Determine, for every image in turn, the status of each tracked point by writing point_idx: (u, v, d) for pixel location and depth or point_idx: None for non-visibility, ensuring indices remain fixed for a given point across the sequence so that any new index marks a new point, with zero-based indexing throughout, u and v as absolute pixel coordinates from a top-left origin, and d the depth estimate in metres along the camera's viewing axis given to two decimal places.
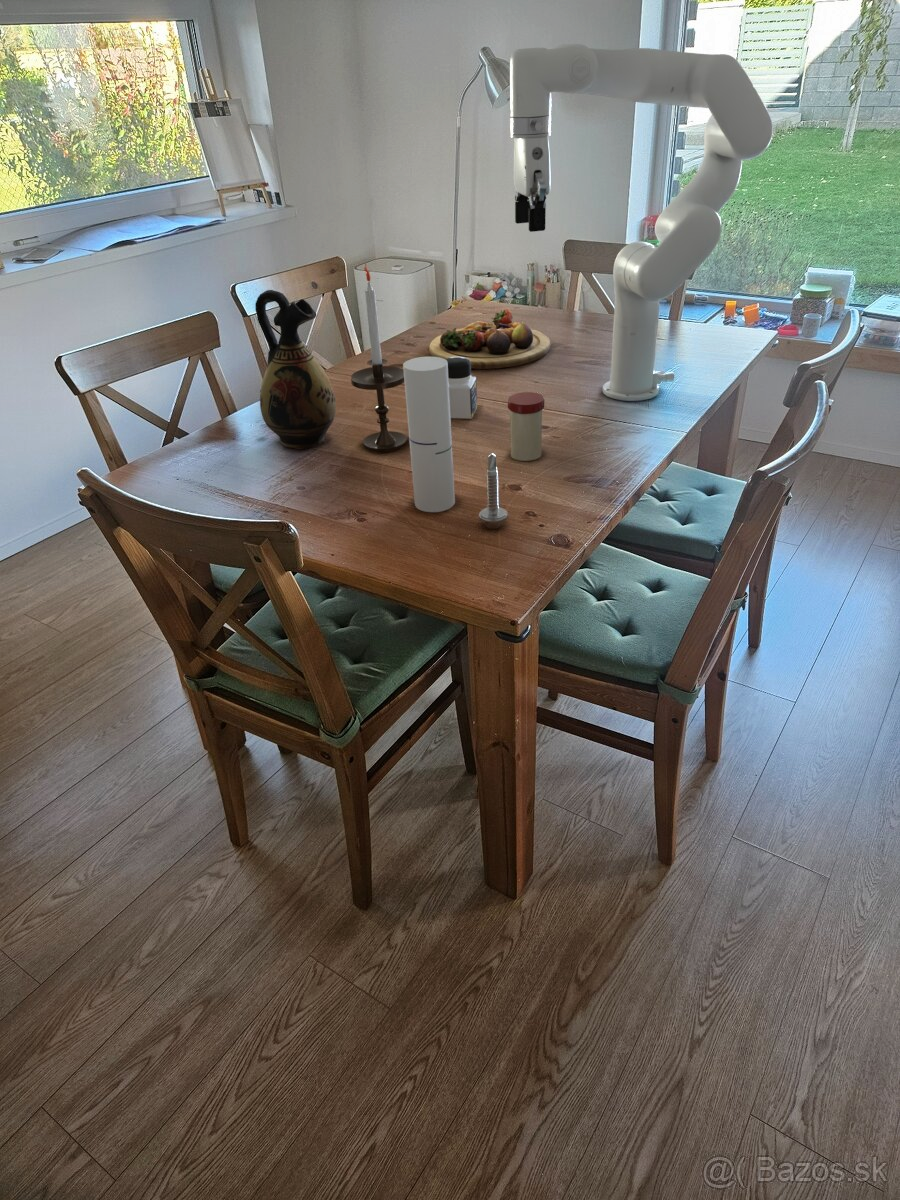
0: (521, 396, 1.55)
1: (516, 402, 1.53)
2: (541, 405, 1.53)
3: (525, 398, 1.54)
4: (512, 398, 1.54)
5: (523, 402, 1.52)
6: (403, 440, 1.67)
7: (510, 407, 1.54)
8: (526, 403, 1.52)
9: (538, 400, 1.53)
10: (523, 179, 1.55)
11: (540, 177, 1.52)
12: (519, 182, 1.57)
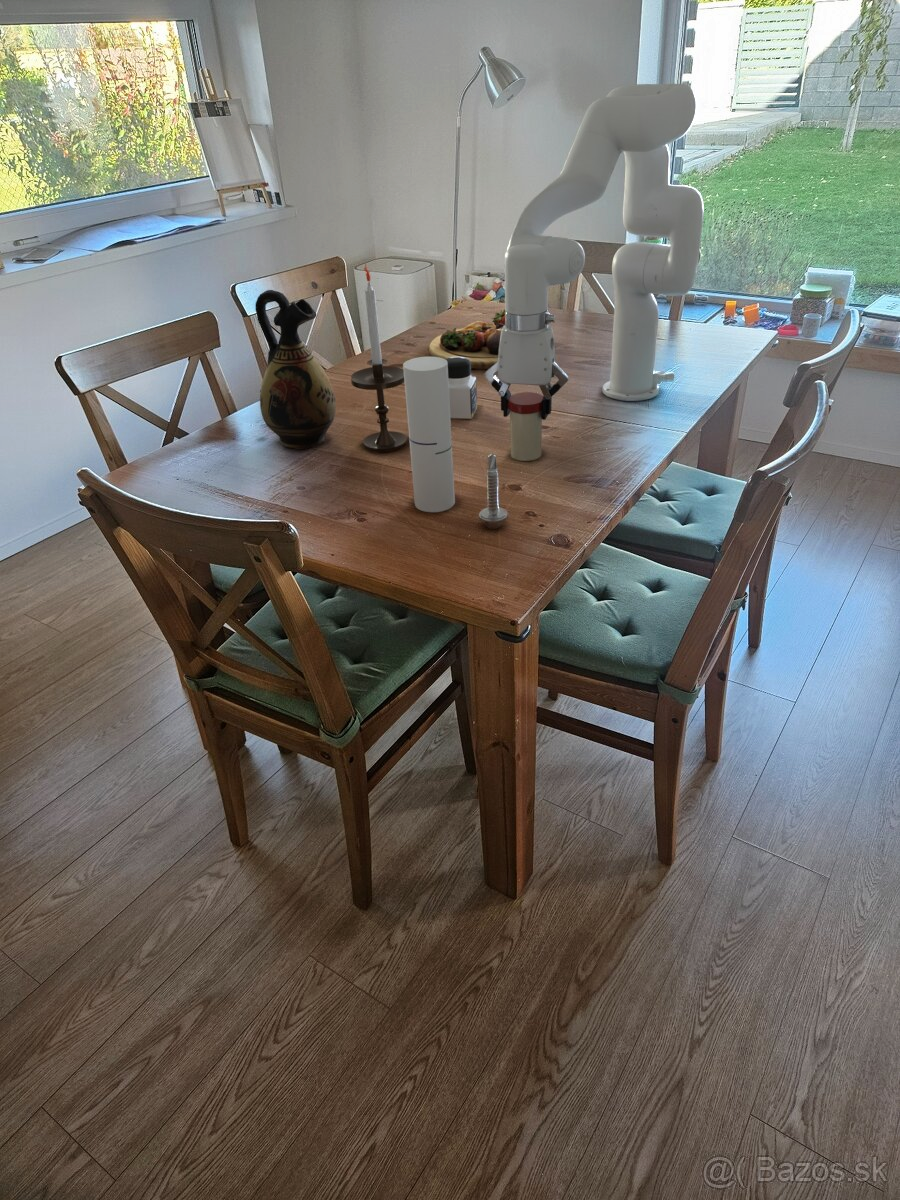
0: (521, 396, 1.55)
1: (516, 402, 1.53)
2: None
3: (525, 398, 1.54)
4: (512, 398, 1.54)
5: (523, 402, 1.52)
6: (403, 440, 1.67)
7: (510, 407, 1.54)
8: (526, 403, 1.52)
9: (538, 400, 1.53)
10: (539, 370, 1.48)
11: (559, 368, 1.49)
12: (526, 374, 1.49)
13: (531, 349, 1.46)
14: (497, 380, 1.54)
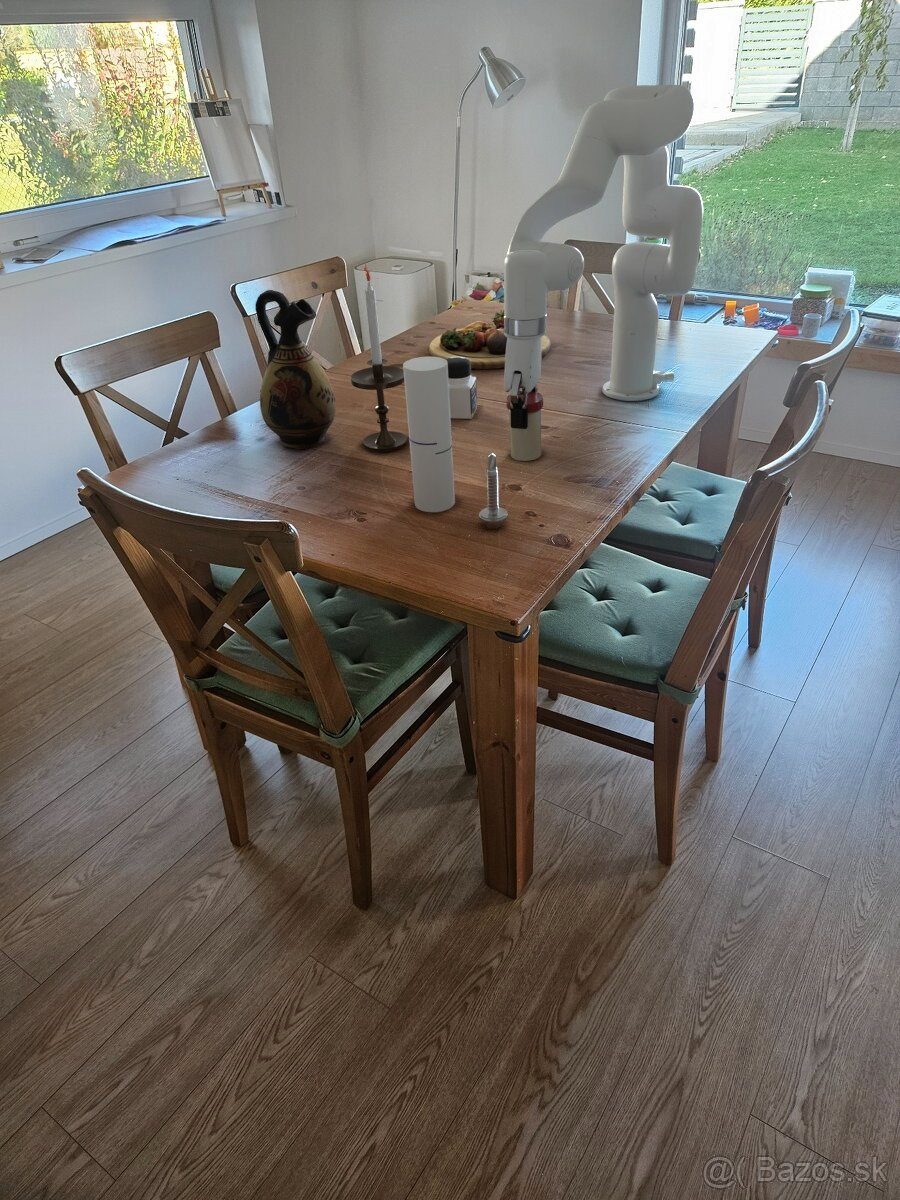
0: None
1: (535, 401, 1.52)
2: None
3: None
4: None
5: (536, 398, 1.53)
6: (403, 440, 1.67)
7: (533, 409, 1.52)
8: (537, 397, 1.53)
9: (531, 392, 1.55)
10: (540, 366, 1.53)
11: None
12: (537, 375, 1.51)
13: (540, 348, 1.49)
14: None
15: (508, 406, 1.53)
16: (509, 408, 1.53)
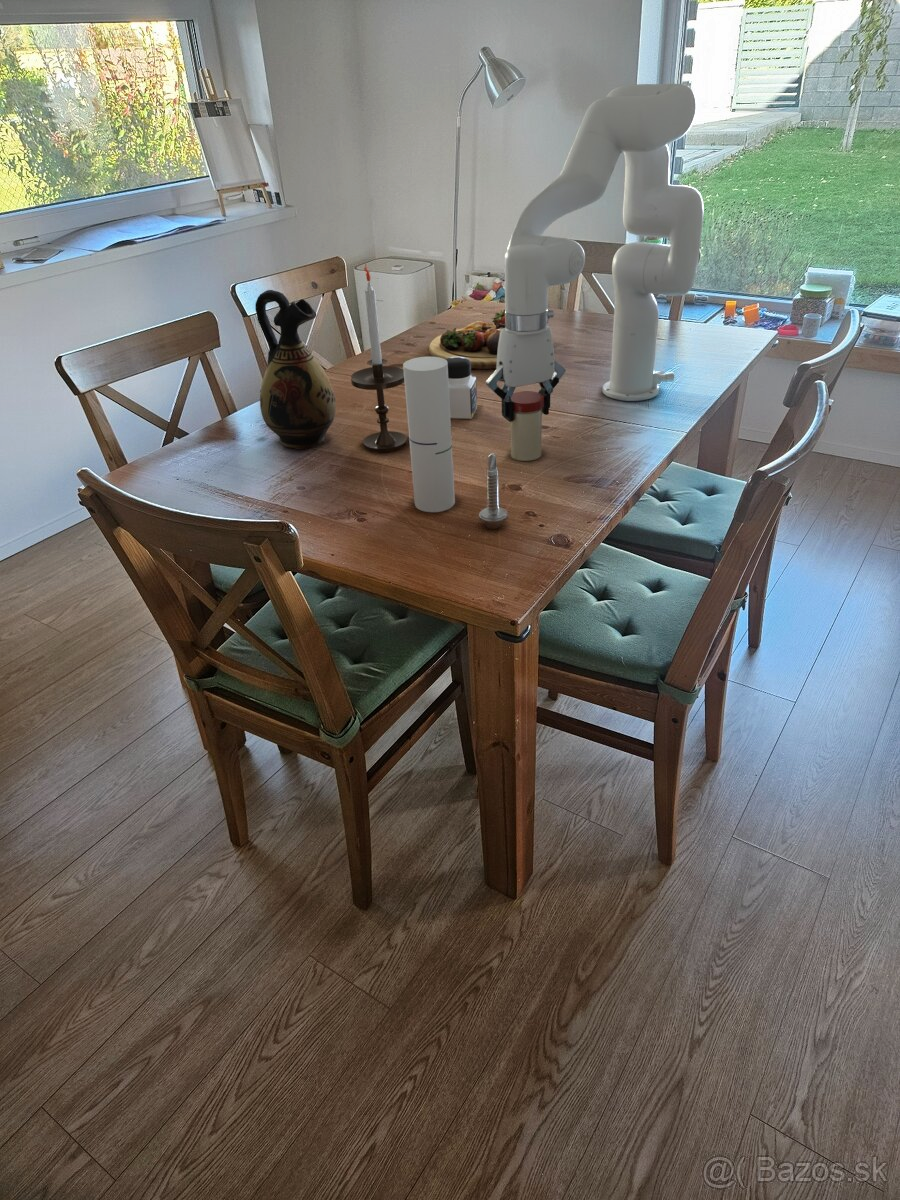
0: (524, 399, 1.53)
1: (540, 397, 1.54)
2: None
3: (526, 397, 1.54)
4: (534, 400, 1.52)
5: (536, 395, 1.55)
6: (403, 440, 1.67)
7: (542, 405, 1.53)
8: (536, 394, 1.55)
9: (523, 392, 1.56)
10: (546, 366, 1.50)
11: (555, 361, 1.53)
12: (534, 373, 1.49)
13: (540, 347, 1.47)
14: None
15: (517, 408, 1.52)
16: (520, 410, 1.52)
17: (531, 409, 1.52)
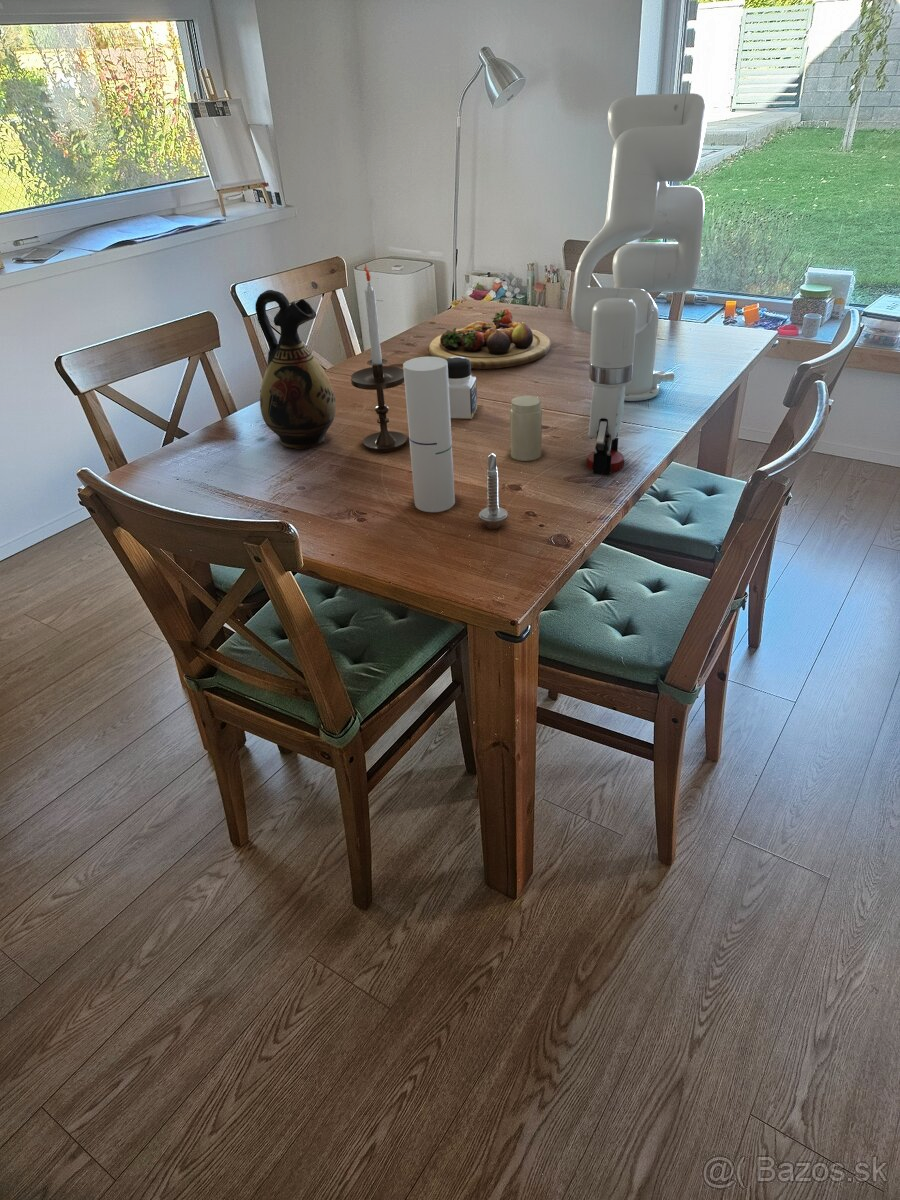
0: None
1: (614, 452, 1.55)
2: None
3: None
4: (619, 456, 1.53)
5: None
6: (403, 440, 1.67)
7: None
8: None
9: (592, 453, 1.55)
10: None
11: None
12: (620, 420, 1.50)
13: (624, 394, 1.48)
14: None
15: (613, 468, 1.52)
16: (615, 469, 1.52)
17: (622, 465, 1.53)
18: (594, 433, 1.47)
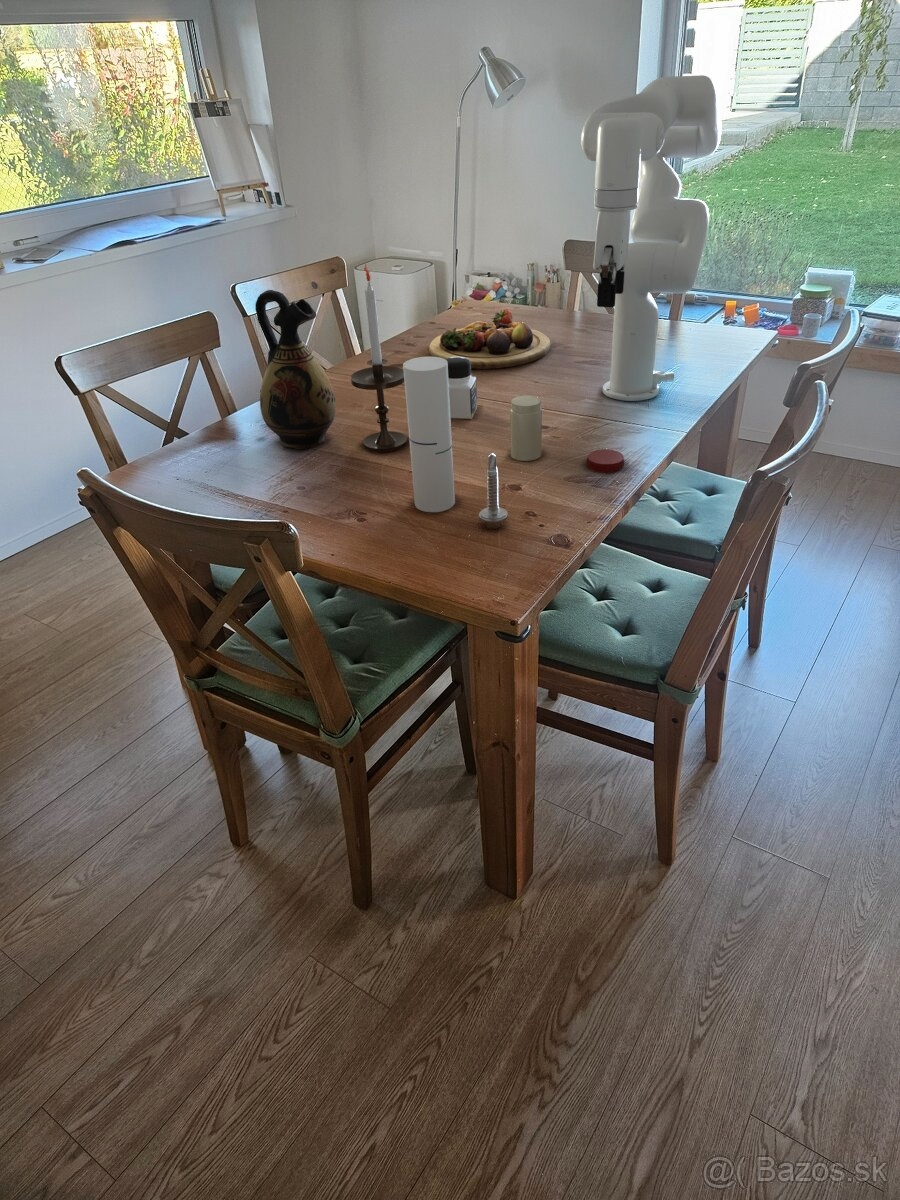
0: (610, 459, 1.53)
1: (614, 452, 1.55)
2: None
3: (606, 456, 1.54)
4: (619, 456, 1.53)
5: (607, 452, 1.55)
6: (403, 440, 1.67)
7: None
8: (605, 451, 1.56)
9: (592, 453, 1.55)
10: (628, 245, 1.50)
11: None
12: (626, 253, 1.48)
13: (629, 224, 1.47)
14: None
15: (613, 468, 1.52)
16: (615, 469, 1.52)
17: (622, 465, 1.53)
18: (599, 258, 1.45)
